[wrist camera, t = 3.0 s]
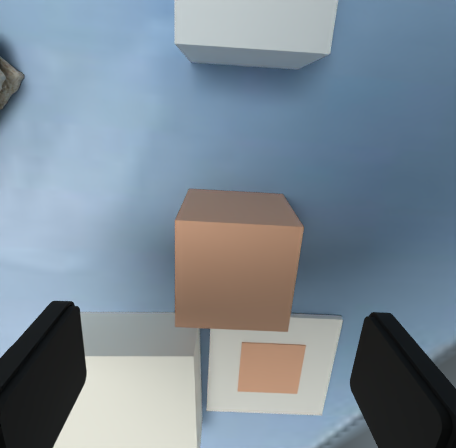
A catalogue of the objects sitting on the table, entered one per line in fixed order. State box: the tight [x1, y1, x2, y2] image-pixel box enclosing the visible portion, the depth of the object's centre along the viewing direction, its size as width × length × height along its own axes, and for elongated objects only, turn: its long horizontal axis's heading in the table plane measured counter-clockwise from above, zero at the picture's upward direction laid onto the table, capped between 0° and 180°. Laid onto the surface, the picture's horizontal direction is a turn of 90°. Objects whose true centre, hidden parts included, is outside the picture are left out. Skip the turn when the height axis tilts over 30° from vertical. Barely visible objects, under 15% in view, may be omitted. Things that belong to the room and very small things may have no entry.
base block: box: [53, 312, 202, 448], centre depth 20 cm, size 9×9×4 cm
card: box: [206, 313, 343, 415], centre depth 21 cm, size 8×8×1 cm
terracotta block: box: [175, 189, 304, 332], centre depth 16 cm, size 5×5×5 cm
